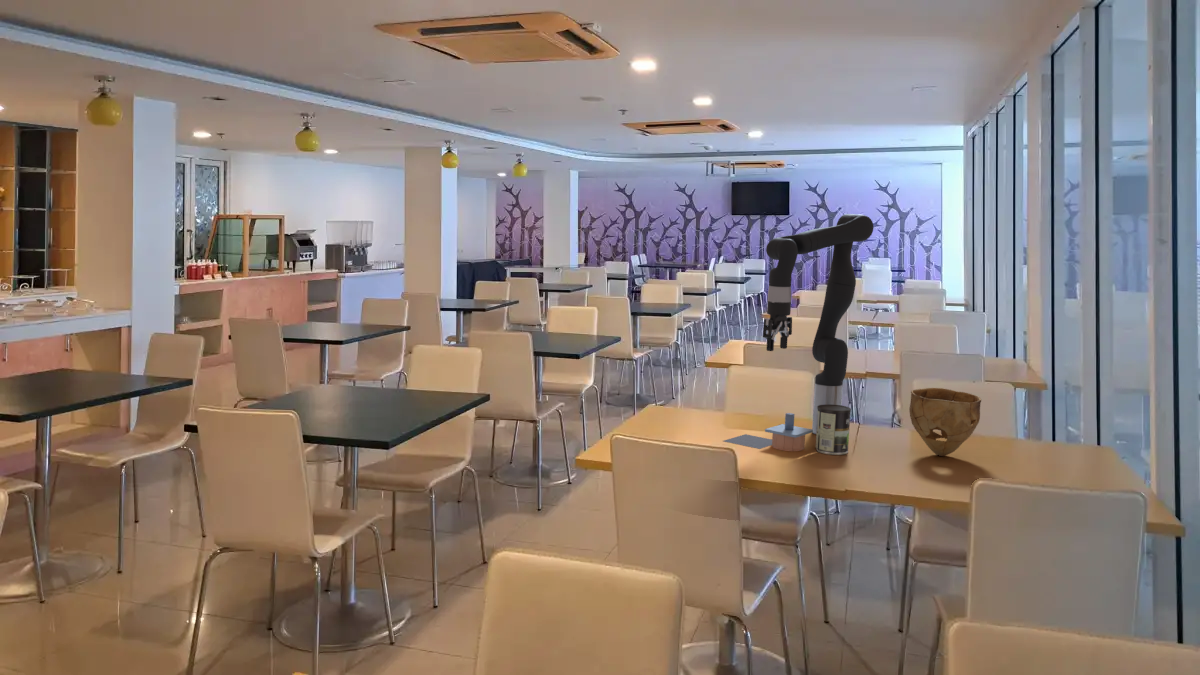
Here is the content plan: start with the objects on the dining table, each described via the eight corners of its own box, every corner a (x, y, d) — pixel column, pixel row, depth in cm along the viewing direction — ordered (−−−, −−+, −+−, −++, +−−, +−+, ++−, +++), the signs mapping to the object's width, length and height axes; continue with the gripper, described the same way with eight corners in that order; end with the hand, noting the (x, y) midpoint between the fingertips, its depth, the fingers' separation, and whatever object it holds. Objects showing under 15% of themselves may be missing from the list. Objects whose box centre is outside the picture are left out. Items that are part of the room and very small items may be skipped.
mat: (745, 435, 313) (745, 434, 313) (782, 443, 304) (782, 441, 304) (722, 442, 302) (722, 441, 302) (759, 450, 293) (759, 448, 293)
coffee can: (847, 448, 299) (850, 405, 298) (849, 456, 289) (852, 411, 288) (814, 445, 301) (816, 403, 300) (815, 453, 291) (817, 409, 290)
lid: (782, 426, 304) (783, 408, 303) (813, 432, 297) (814, 414, 296) (764, 431, 295) (765, 413, 295) (795, 437, 288) (796, 419, 288)
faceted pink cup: (782, 443, 304) (783, 426, 303) (810, 449, 297) (811, 432, 296) (765, 448, 296) (766, 431, 295) (794, 454, 290) (795, 437, 289)
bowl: (975, 452, 299) (979, 390, 296) (978, 467, 280) (983, 402, 277) (906, 445, 306) (911, 385, 303) (905, 459, 287) (910, 396, 284)
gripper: (780, 298, 310) (777, 346, 312) (757, 300, 299) (755, 350, 302) (800, 300, 305) (797, 349, 307) (778, 302, 295) (775, 353, 297)
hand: (776, 349), depth 304 cm, fingers open, 8 cm apart
